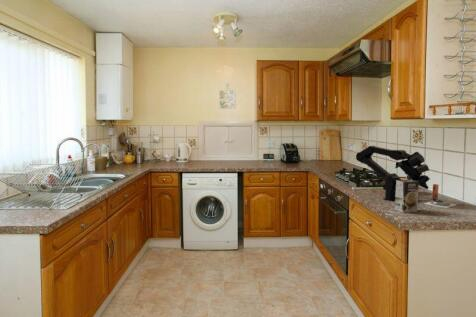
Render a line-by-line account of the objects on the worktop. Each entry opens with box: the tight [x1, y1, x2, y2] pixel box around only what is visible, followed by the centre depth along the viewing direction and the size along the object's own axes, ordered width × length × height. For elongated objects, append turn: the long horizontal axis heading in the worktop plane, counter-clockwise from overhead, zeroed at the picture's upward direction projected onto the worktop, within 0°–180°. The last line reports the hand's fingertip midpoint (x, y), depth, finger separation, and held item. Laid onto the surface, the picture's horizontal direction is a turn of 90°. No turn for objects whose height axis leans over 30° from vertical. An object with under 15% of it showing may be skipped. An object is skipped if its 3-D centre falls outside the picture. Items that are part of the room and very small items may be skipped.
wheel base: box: [423, 201, 457, 209], centre depth 194 cm, size 12×12×1 cm
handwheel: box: [429, 183, 451, 205], centre depth 194 cm, size 11×10×10 cm
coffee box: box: [394, 180, 420, 214], centre depth 179 cm, size 9×6×16 cm
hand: (427, 188), depth 197 cm, fingers closed
